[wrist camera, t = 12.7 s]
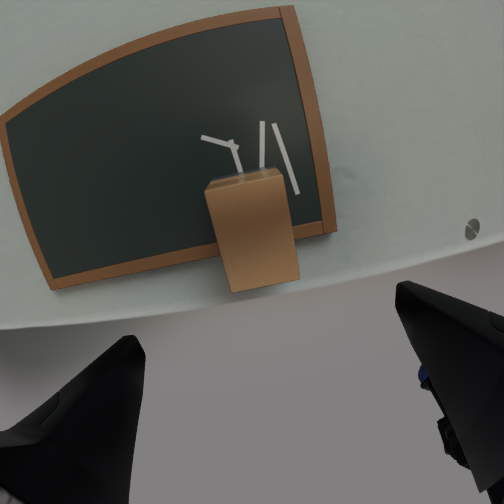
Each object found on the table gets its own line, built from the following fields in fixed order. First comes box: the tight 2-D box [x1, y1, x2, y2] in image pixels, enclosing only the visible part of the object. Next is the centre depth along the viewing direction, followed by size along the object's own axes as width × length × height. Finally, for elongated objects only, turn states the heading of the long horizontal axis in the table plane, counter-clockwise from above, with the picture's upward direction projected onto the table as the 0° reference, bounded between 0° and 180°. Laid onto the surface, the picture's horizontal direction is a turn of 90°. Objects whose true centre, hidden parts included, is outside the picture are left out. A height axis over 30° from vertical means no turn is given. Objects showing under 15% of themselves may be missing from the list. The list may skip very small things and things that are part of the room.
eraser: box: [204, 165, 300, 293], centre depth 17 cm, size 6×4×4 cm, turn 12°
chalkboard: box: [0, 5, 337, 290], centre depth 18 cm, size 16×24×1 cm, turn 102°
